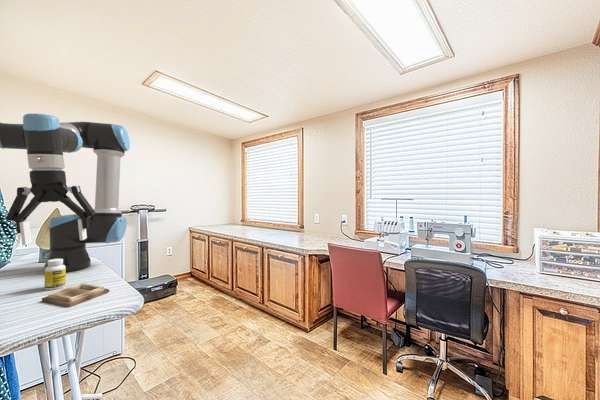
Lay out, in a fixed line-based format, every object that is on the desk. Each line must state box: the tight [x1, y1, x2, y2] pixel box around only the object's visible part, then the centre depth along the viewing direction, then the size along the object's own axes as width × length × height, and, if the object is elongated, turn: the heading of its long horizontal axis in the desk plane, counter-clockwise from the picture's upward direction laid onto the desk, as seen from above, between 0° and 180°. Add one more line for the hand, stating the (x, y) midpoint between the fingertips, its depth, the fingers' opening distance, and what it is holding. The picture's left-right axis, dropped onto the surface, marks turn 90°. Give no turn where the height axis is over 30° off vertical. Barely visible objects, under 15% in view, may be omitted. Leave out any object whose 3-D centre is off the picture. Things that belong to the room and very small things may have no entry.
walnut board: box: [41, 283, 110, 308], centre depth 85 cm, size 12×12×2 cm
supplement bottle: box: [44, 259, 67, 291], centre depth 92 cm, size 5×5×10 cm
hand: (56, 241), depth 78 cm, fingers open, 13 cm apart
